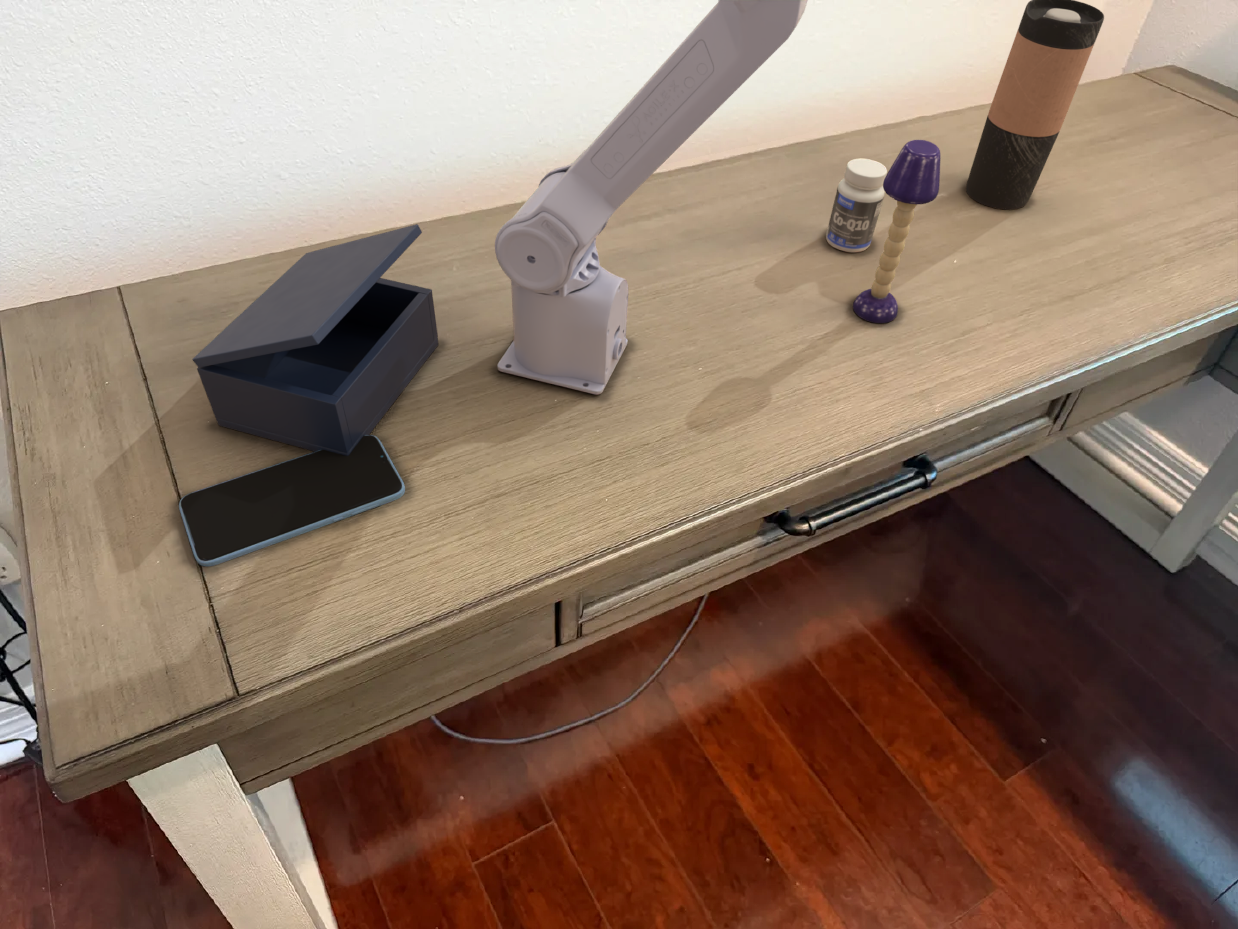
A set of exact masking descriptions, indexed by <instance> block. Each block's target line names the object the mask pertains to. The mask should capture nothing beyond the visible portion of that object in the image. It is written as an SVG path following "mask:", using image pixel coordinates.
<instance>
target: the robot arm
mask: <svg viewBox="0 0 1238 929" xmlns="http://www.w3.org/2000/svg"><path fill="white" fill-rule="evenodd" d="M808 1H809V0H718V1H717V2H716V4H715V5H714V6H713V7H712V8H711V10H710V11H709V12H708V13H707V14H706V15H705V16H704V17H703V18H702V19H701V21H700V22H699V23H698V24H697V25H696V26H695V27H694V28H693V30H691V32H690V33H689V34H688V35H687V36H686V37H685V38H684V40H683V41H682V42H681V43H680V44H679V45H678V46H677V48H676V49H674V50H673V52H672V53H671V54H670V55H669V56H668V58H667V59H666V60H665V61H664V62H663V63H662V64H661V65H660V66H659V68H658V69H657V70H656V71H655V72H654V73H653V74H652V76H650V77H649V78H648V80H647V81H646V82H645V83H644V84H643V86H641V88H639V90H638V91H637V92H636V94H634V96H633V97H632V98H631V99H630V100H629V101H627V103H626V104H625V106H623V108H622V109H621V110H620V111H619V112H618V114H616V116H615V117H613V119H612V120H611V121H610V122H609V123H608V125H607V126H606V127H605V128H604V129H603V130H602V131H601V132H600V133H599V134H598V136H597V137H596V138H595V139H594V140H593V141H592V142H591V144H589V146H588V147H587V148H586V149H584V150H583V151H582V152H581V153H580V155H579V156H577V157H576V159H575V160H574V161H573V162H571V163H569V164H566V165H564V166H560V167H556V168H554V169H552V170H550V171H549V172H547V173H546V174H545V175H544V176H543V178H541V180H540V182H539V183H538V186H537V188H536V189H535V190H534V191H533V192H532V194H530V195H529V197H528V198H527V199H526V201H525V202H524V203H523V204H522V206H521V207H520V208H519V209H518V210H517V211H516V213H515V214H514V215H512V216H513V217H511V218H510V219H508V220H507V221H506V222H505V223H504V224H503V225H502V226H501V227H500V228H499V229H498V232H497V233H496V236H495V241H494V253H495V257H496V258H495V259H496V260H497V263H498V265H499V267H500V269H501V270H502V272H503V273H504V274H505V276H507V278H509V279H510V288H511V291H510V292H511V309H512V310H511V311H512V328H513V329H512V330H513V331H512V332H513V339H512V340H513V341H512V342H511V343H510V345H509V346H508V348H507V349H506V351H505V352H504V354H503V355H502V357H501V358H500V360H499V361H498V363H497V366H496V368H497V370H498V371H499V372H502V373H505V374H510V375H513V376H518V377H521V378H527V379H531V380H534V381H539V382H542V383H547V384H552V385H555V386H560V387H562V388H566V389H572V390H576V391H579V392H584V393H588V394H592V395H600V394H602V393H603V392H604V391H605V388H606V387H607V384H608V382H609V381H610V378H611V377H612V374H613V372H614V371H615V369H616V367H617V364H618V363H619V361H620V359H621V357H622V356H623V354H624V351H625V350H626V348H627V346H628V338H627V324H628V310H629V309H628V307H629V283H628V281H627V279H626V278H624V277H621V276H620V275H619V276H618V275H616V274H614V273H612V272H610V271H608V270H607V269H606V268H604V267H602V265H600V257H599V253H598V252H599V251H598V249H597V236H599V235H600V234H601V233H602V231H603V230H604V229H605V228H606V227H607V224H608V223H609V220H610V218H611V217H612V216H613V215H614V213H615V212H616V211H617V210H618V209H619V208H620V207H621V206H622V205H623V204H624V203H625V202H626V201H627V200H628V199H629V198H630V197H631V196H632V195H633V194H634V193H635V192H636V191H637V190H638V189H639V188H640V187H641V186H642V185H643V184H644V183H645V182H646V181H647V180H648V179H649V178H650V177H651V176H652V175H653V174H655V172H656V171H657V170H658V169H659V168H660V167H662V165H663V164H664V163H665V162H667V160H668V159H669V158H670V157H671V156H672V155H673V154H674V153H675V152H676V151H677V150H678V149H679V148H680V147H681V146H682V145H683V144H684V143H685V142H686V141H688V139H689V138H690V137H691V136H692V135H694V133H696V131H698V129H699V128H700V127H701V126H702V125H703V124H704V123H705V122H706V121H707V120H708V119H709V118H710V117H711V116H712V115H713V114H714V113H716V111H717V110H719V108H720V107H721V106H722V105H724V103H725V102H726V101H727V100H728V99H729V98H730V97H731V96H733V94H735V92H736V91H738V89H740V87H742V85H743V84H744V83H745V82H746V81H748V80H749V78H751V76H752V75H753V74H754V73H755V72H757V71H758V69H759V68H760V67H761V66H762V65H764V63H765V62H767V60H768V59H769V58H770V57H771V56H773V54H774V53H776V51H777V50H779V49H780V47H781V46H783V45H784V43H786V42H787V41H788V40H789V38H790V37H791V35H792V33H793V32H794V31H795V29H796V28H797V26H798V25H799V22H800V21H801V19H802V17H803V15H804V14H805V11H806V8H807V5H808Z"/></svg>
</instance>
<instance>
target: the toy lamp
mask: <svg viewBox="0 0 1238 929" xmlns="http://www.w3.org/2000/svg"><path fill="white" fill-rule="evenodd" d="M940 179H941V149H940V147H939V146H938V145H936V144H935V143H934V142H931V141H929V140H925V139H912V140H909V141H908V142H906V143H905V144H904V145H903V147H902V148H901V150H900V151H899V152H898V154H897V157H896V158H895V160H894V161H893V163H892V165H891V166H890V168H889V170H888V171H887V174H886V177H885V179H884V182H883V188H884V191H885V194H886V195H887V196H888V197H890V198H892V199H893V200H895V201H896V207H895V209H894V211H893V213H892V222H891V223H890V225H889V226H888V232H887V234H888V236H887V238H886V239H885V241H884V244H883V251H882V253H881V254H880V257H879V259H878V264H879V266H878V267H877V268H876V271H875V274H874V281H873V282H872V284H871V288H868V289H864V290H863V291H862V292H860V293H859V294H858V295H857V296H856V298H855V299H854V301H853V303H852V309H853V312H854V313H855V315H857V317H859V318H861V319H863V320H865V321H867V322H869V323H873V324H888V323H890V322H892V321H894V320H895V319H896V318H897V316H898V312H899V305H898V301H897V299H896V298H895V297H894V295H893V294H892V293H891V289H892V282H893V281H894V279H895V276H896V269H897V268H898V266H899V264H900V261H901V254H902V253H903V252H904V249H905V245H906V239H907V238H908V235H909V233H910V224H911V223H912V222H913V220H914V216H915V210H914V209H916V207H917V206H918V205H924V204H929V203H931V202H933V201H934V200H936V198H937V197H938V195H939V192H940V181H941V180H940Z"/></svg>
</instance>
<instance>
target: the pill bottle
mask: <svg viewBox="0 0 1238 929" xmlns="http://www.w3.org/2000/svg"><path fill="white" fill-rule="evenodd" d="M887 173H888V168H887V167H886V166H885V165H884V164H883V163H881V162H879V161H876V160H874V159H869V158H860V157H859V158H854V159H851V160H849V161H848V162H847V164H846V166H845V171H844V173H843V178H842V179H841V180H840V181H839V183H838V184H837V188H836V192H835V197H834V200H833V205H832V208H831V213H830V217H829V221H828V225H827V229H826V234H825V239H826V241H827V244H829V245H830V246H831V247H832V248H834V249H837V250H840V251H843V252H845V253H861V252H863V251H867V249H868V248H869V247H870V245H871V244H872V240H873V237H874V233H875V229H876V227H877V224H878V220H879V216H880V212H881V209H882V206H883V202H884V198H885V196H886V195H885V194H886V192H885V191H884V188H883V182H884V179H885V177H886V175H887Z"/></svg>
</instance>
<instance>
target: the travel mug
mask: <svg viewBox="0 0 1238 929" xmlns="http://www.w3.org/2000/svg"><path fill="white" fill-rule="evenodd" d="M1104 14H1105V13H1103V11H1101V10H1100V9H1098V8H1097V7H1096V6H1093V5H1091V4H1088V3H1085V2H1082V1H1079V0H1029V1H1028V2H1027V4H1026V5H1025V9H1024V11H1023V14H1022V17H1021V19H1020V22H1019V25H1018V28H1017V31H1016V34H1015V37H1014V39H1013V42H1012V45H1011V47H1010V51H1009V54H1008V56H1007V59H1006V62H1005V65H1004V68H1003V70H1002V73H1001V76H1000V79H999V81H998V85H997V88H996V90H995V93H994V96H993V99H992V101H991V105H990V107H989V109H988V114H987V116H986V119H985V122H984V126H983V129H982V133H981V135H980V139H979V142H978V145H977V147H976V148H977V149H976V152H975V155H974V157H973V161H972V165H971V168H970V171H969V175H968V177H967V180H966V185H965V191H966V194H967V195H968V196H969V198H970V199H972V200H974V201H975V202H976V203H979V204H980V205H983V206H986V207H989V208H993V209H999V210H1018V209H1021V208H1023V207H1025V206H1027V204H1028V203H1029V201H1030V199H1031V197H1032V194H1033V193H1034V190H1035V188H1036V186H1037V184H1038V181H1039V179H1040V177H1041V174H1042V172H1043V170H1044V168H1045V166H1046V163H1047V162H1048V159H1049V157H1050V155H1051V152H1052V149H1053V147H1054V145H1055V143H1056V141H1057V138H1058V136H1059V134H1060V131H1061V130H1062V126H1063V124H1064V123H1065V120H1066V117H1067V114H1068V112H1069V109H1070V106H1071V104H1072V101H1073V99H1074V96H1075V94H1076V92H1077V89H1078V86H1079V84H1080V81H1081V79H1082V77H1083V74H1084V71H1085V69H1086V66H1087V63H1088V62H1089V59H1090V56H1091V53H1092V51H1093V49H1094V46H1095V43H1096V41H1097V38H1098V36H1099V33H1100V30H1101V28H1102V26H1103V23H1104V21H1105V15H1104Z"/></svg>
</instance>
